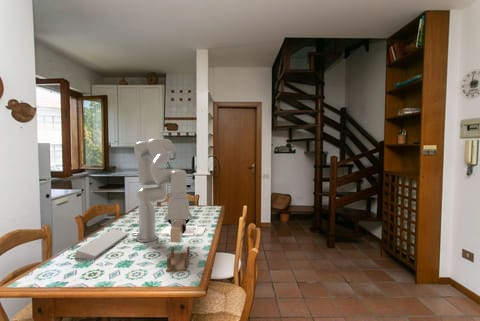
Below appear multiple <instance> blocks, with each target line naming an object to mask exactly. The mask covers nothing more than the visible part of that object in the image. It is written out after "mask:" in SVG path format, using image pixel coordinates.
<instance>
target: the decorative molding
mask: <svg viewBox="0 0 480 321" xmlns="http://www.w3.org/2000/svg"><path fill="white" fill-rule="evenodd" d="M128 235H129V233H128V232H126V231H122V230H119V229H115V228H112V229H110V230H108V231H107V232H106V233H104V234H101V235H100V236H99V237H96V238H95V239H93V240H92V241H90V242H89V243H87V244H85V245H83V246H82V247H80V248H78V249H76V251H75V255H74V259H75V258H79V259H78V260H81V259H84V260H85V259H86V260H94V259H96V258H98V257H99V256H100V255H102V254H104V252H106V251H107V250H108V249H110V248H111V247H113V246H114V245H116V244H117V243H119V242H121V240H124V238H126V237H127V236H128ZM97 256H98V257H97Z"/></svg>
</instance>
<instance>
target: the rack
mask: <svg viewBox="0 0 480 321" xmlns="http://www.w3.org/2000/svg"><path fill="white" fill-rule="evenodd" d="M190 250H191V248H190V246H187V249H186V252H175V247H174V246H171V249H170V254H168V255H167V258H166V269H165V271H166V272H186V271H187V269H188V265H189V261H190V258H191V257H190V256H191V251H190Z"/></svg>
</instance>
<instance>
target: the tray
mask: <svg viewBox="0 0 480 321" xmlns="http://www.w3.org/2000/svg"><path fill="white" fill-rule="evenodd" d="M171 228H172V226H166V227H165V228H164V229H163V230H162V231H161V232H160V235H168V236H171ZM206 228H207V227H204V226H202V227H201V226H199V225H189V223H187V224H186V231H185V232H184V233H183V235H182V236H187V237H189V236H194V235H203V234H204V232H205V230H206Z"/></svg>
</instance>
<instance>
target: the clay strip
mask: <svg viewBox="0 0 480 321" xmlns="http://www.w3.org/2000/svg"><path fill="white" fill-rule="evenodd" d="M171 227H172V228H171V235H170V243H180V242H181V241H182V237H183V236H184V235H183V220H175V221H174V224H173V226H171Z"/></svg>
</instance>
